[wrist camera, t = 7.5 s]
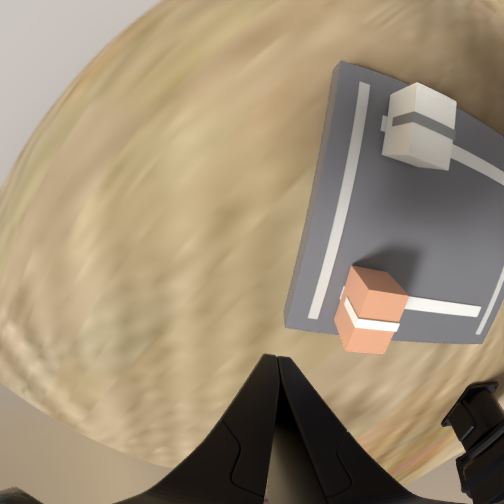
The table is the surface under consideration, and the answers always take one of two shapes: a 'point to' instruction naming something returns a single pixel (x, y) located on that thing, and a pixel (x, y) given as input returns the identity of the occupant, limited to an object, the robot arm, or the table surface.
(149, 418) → the table surface
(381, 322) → the block
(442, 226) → the console
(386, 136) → the fader
